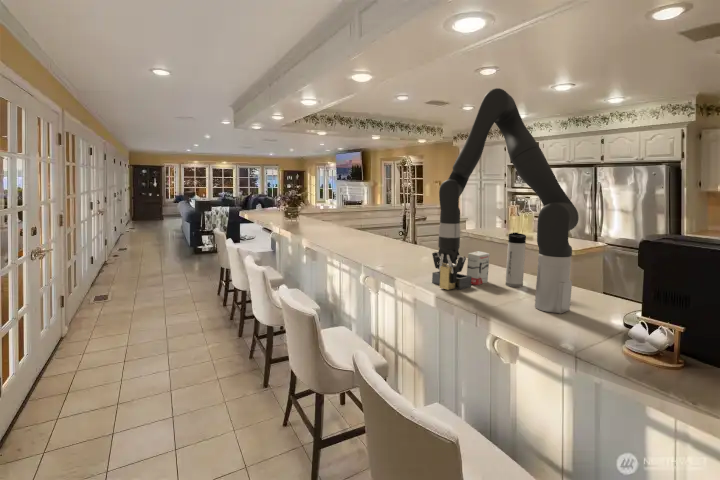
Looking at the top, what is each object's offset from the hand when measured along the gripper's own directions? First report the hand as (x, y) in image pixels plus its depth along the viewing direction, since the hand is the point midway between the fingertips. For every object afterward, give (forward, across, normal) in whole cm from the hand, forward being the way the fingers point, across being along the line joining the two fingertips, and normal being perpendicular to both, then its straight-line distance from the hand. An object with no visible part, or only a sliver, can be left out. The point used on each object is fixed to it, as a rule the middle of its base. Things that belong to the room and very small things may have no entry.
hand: (447, 281), depth 151 cm
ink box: (+3, -1, -17) cm, 18 cm away
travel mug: (+3, -12, -25) cm, 28 cm away
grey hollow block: (+3, +3, -6) cm, 8 cm away
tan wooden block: (+2, 0, 0) cm, 2 cm away
